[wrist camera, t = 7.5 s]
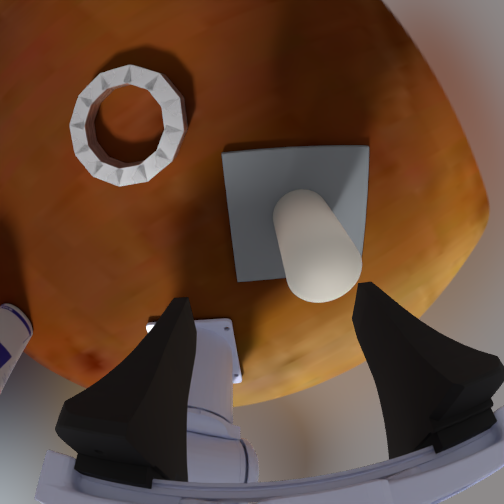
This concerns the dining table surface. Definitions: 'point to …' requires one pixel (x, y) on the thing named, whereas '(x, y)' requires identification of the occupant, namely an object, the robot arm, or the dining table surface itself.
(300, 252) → the peg
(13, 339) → the energy drink
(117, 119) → the dining table surface
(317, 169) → the mat
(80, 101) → the ring
